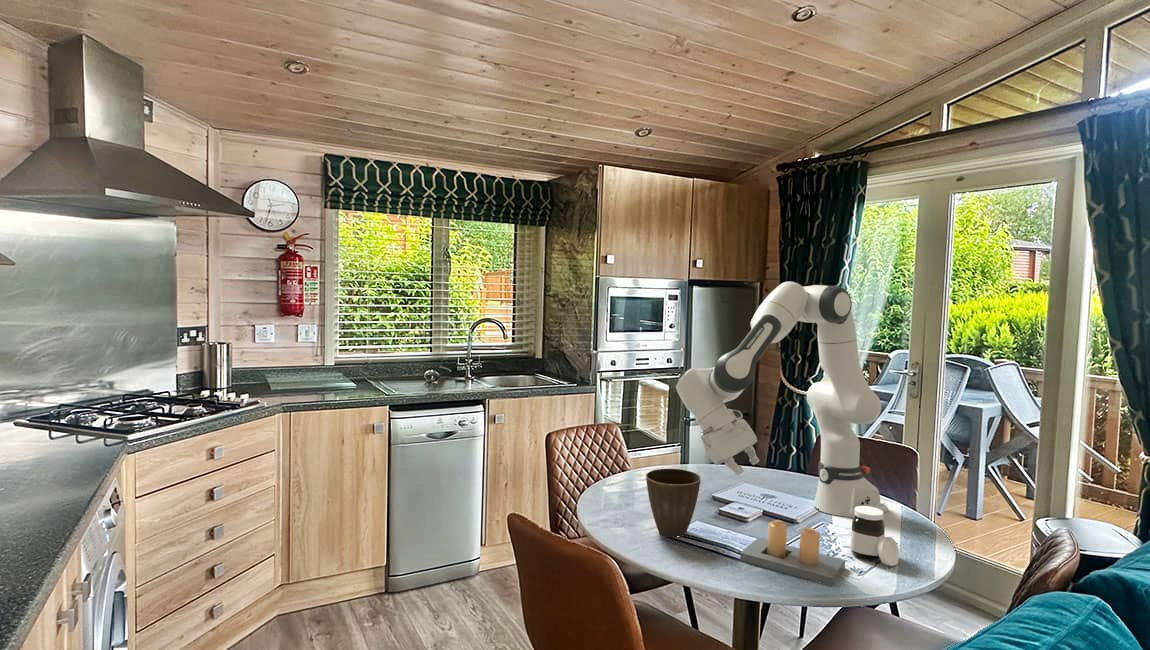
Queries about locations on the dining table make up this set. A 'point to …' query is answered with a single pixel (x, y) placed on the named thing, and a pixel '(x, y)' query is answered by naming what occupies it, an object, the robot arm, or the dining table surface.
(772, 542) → the orange peg
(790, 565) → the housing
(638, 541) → the dining table surface
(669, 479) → the plant pot
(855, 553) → the spread jar
